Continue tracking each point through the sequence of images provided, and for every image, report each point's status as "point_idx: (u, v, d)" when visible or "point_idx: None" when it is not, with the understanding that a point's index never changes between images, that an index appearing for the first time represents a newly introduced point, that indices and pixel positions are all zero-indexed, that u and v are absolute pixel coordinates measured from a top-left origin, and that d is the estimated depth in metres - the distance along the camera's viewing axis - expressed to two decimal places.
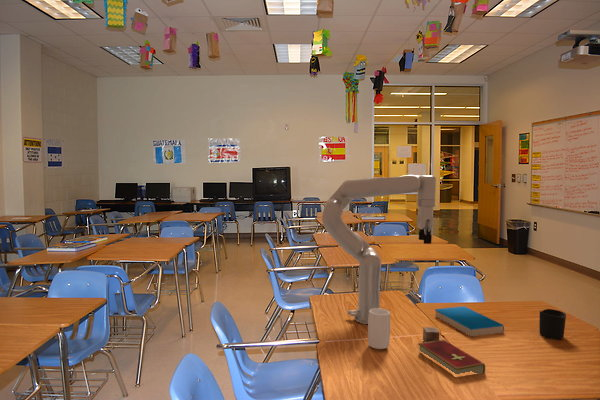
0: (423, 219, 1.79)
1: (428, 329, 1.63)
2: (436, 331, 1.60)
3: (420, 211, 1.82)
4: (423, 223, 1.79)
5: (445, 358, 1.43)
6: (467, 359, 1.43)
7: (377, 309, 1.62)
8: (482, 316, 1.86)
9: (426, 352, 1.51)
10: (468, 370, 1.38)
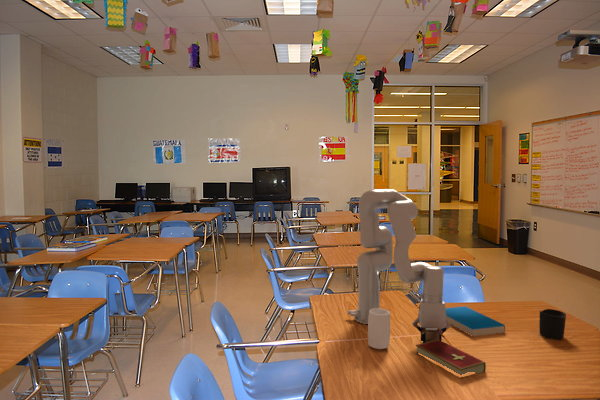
0: None
1: (428, 329, 1.63)
2: (436, 331, 1.60)
3: (438, 309, 1.59)
4: (446, 321, 1.60)
5: (447, 359, 1.42)
6: (467, 358, 1.43)
7: (377, 309, 1.62)
8: (483, 316, 1.86)
9: (425, 354, 1.50)
10: (471, 370, 1.38)
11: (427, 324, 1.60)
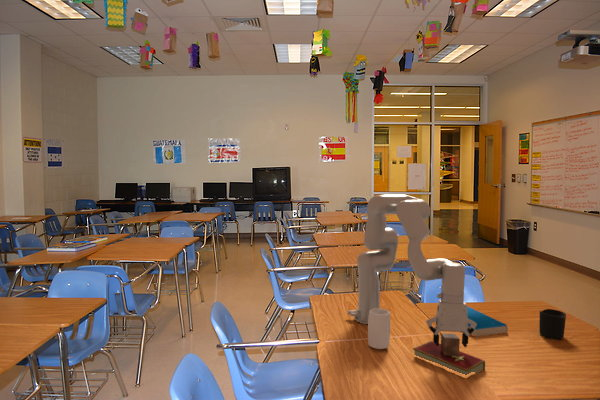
0: (467, 318, 1.44)
1: (447, 336, 1.47)
2: (456, 338, 1.45)
3: (459, 310, 1.44)
4: (467, 323, 1.44)
5: (449, 361, 1.42)
6: (467, 358, 1.44)
7: (377, 309, 1.62)
8: (485, 316, 1.86)
9: (424, 357, 1.48)
10: (474, 369, 1.39)
11: (447, 327, 1.44)
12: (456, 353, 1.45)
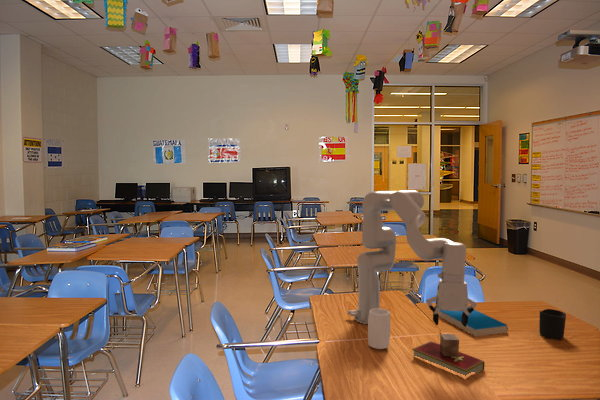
0: (467, 298, 1.44)
1: (447, 336, 1.47)
2: (455, 339, 1.44)
3: (459, 289, 1.43)
4: (467, 303, 1.44)
5: (448, 361, 1.41)
6: (466, 358, 1.44)
7: (377, 309, 1.62)
8: (485, 316, 1.86)
9: (424, 357, 1.48)
10: (473, 370, 1.38)
11: (446, 306, 1.44)
12: (455, 354, 1.44)
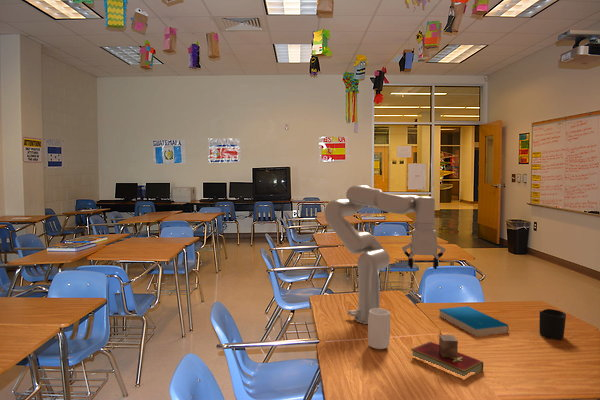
0: None
1: (445, 337, 1.46)
2: (454, 340, 1.43)
3: (430, 236, 1.66)
4: None
5: (447, 361, 1.41)
6: (465, 359, 1.43)
7: (377, 309, 1.62)
8: (486, 316, 1.86)
9: (422, 357, 1.47)
10: (471, 370, 1.38)
11: (419, 251, 1.67)
12: (454, 355, 1.43)
